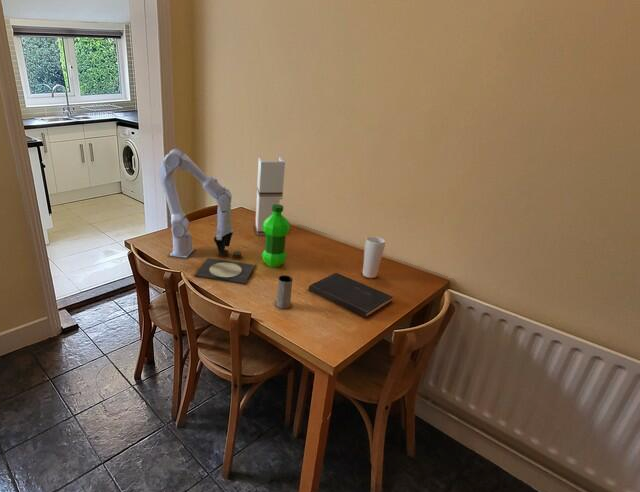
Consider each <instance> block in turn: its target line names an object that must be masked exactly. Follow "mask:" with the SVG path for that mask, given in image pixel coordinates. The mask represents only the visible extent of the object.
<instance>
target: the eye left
mask: <svg viewBox="0 0 640 492" xmlns="http://www.w3.org/2000/svg"><path fill="white" fill-rule="evenodd" d="M219 256H220V257H221V258H226V257H228V256H229V251H228V250H227V249H225V251H224V253H223V254H222V253H219Z"/></svg>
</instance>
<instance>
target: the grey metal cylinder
mask: <svg viewBox="0 0 640 492" xmlns="http://www.w3.org/2000/svg"><path fill="white" fill-rule="evenodd" d="M292 287H293V278H292V276H290V275H279V276H278V280H277V291H276V292H277V295H276V306H277V307H278V308H280V309H289V308H290V307H291V301H292Z"/></svg>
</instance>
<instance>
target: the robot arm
mask: <svg viewBox="0 0 640 492" xmlns="http://www.w3.org/2000/svg"><path fill="white" fill-rule="evenodd" d="M178 168H179V169H178ZM177 169H178V170H179V171H187V172H189V174H191V175H192V176H193V177H194V178H195V179H197V180H198V181H199V182H200V183H201V184H202V189H203V190H204V191H206V193H207V194H208V195H210V196H211V197H212V198H213V199H214V200H215V201H216V205H217V209H216V210H217V211H216V212H217V213H216V216H217V217H216V226H217V227H216V236H214V237H213V241H214V243H215V245H216V248H217V252H218V253H219V254H220V253H222V254H223V253H224V251H225V250H226V247H227V248H228V247H230V244H231V240H232V236H233V234H234V232H235V230H234V229H232V198H233V196H232V195H233V194H232V193H231V191H230V189H228V188H226V187H225V186H222V185H221V183H219V182H218V181H219V179H217V178H216V177H215V178H214V177H213V176H208V175H207V174H205V172H204V171H203V170H202V169H201V168H200V167H199V166H198V165H197V164H196V163H195V162H194V161H193V160H192V159H191V158H190V157H189V156H188V155H187V154H186V153H184V152H183V151H182V150H181V149H179V148H173V149H171V150H170V151H169V152H168V153H167V154H166V155H165V156H164V157H163V159H162V161H161V166H160V168H159V172H158V176H159V179H160V183H161V186H162V189H163V194H164V196H165V200H166V203H167V206H168V209H169V210H168V211H169V213H170V224H171V229H170V231H171V235H172V252H170V254H169V257H176V258H182V259H183V258H184V259H187V258H188V257H189V256H190V255H191V254H192V253H193V252H194V251H195V248H193V235H192V233H191V232H190V231H189V228H190V220H189V219H188V218H187V216H186V213H185V212H184V211H183V208H182V204H181V201H180V196H179V193H178V190H177V186H176V183H175V180H174V176H173V174H174V173H175V171H176V170H177Z"/></svg>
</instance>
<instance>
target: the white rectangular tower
mask: <svg viewBox="0 0 640 492" xmlns="http://www.w3.org/2000/svg"><path fill="white" fill-rule="evenodd" d="M285 166H286V161H285V159H283V157H282V156H279V157H278V161H268V160H267V161H266V160H263V159H262V156H258V160H257V179H256V180H257V183H256V202H255V226H254V227H255V232H256V235H257V236H266V233H265V232H264V231H263V223H264V221H265V220H266V219H267V218H268V217H269V216H271V215H272V214H273V211H272V206H273V205H275V204H278V205H280V202H281V200H283V194H284V182H285V181H284V180H285V168H286V167H285Z"/></svg>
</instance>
